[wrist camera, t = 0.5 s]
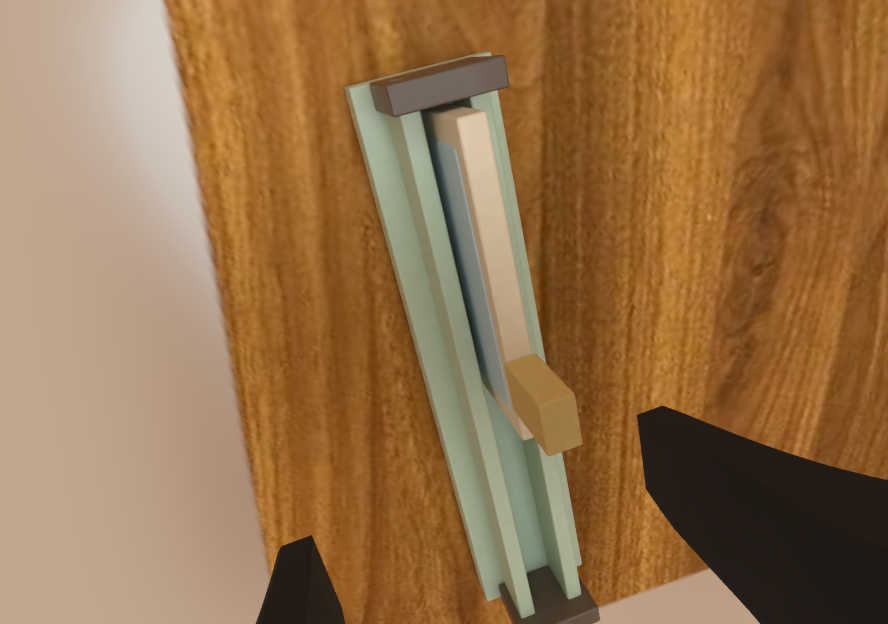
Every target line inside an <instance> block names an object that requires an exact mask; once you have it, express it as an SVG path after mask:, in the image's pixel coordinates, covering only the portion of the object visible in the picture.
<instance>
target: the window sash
mask: <svg viewBox="0 0 888 624" xmlns="http://www.w3.org/2000/svg"><path fill="white" fill-rule="evenodd" d="M420 112H421V116H422V121H423V125H424V129H425V134H426V138H427V143H428V147H429V151H430V156H431V160H432V164H433V169H434V173H435V177H436V182H437V186H438V191H439V195H440V199H441V204H442V208H443V212H444V217H445V221H446V225H447V230H448V234H449V239H450V243H451V247H452V252H453V256H454V260H455V265H456V269H457V273H458V278H459V282H460V287H461V291H462V295H463V300H464V304H465V308H466V313H467V317H468V321H469V326H470V330H471V335H472V339H473V343H474V348H475V352H476V356H477V361H478V365H479V369H480V374H481V378H482V382H483V384H484V385H485V387H486V388H487V390H488V391H489V392H490V394H491V395H492V397H493V398H494V400H495V401H496V402H497V404H498V405H499V407H500V408H501V410H502V411H503V413H504V414H505V415H506V417H507V418H508V420H509V421H510V423H511V424H512V426H513V427H514V428H515V430H516V431H517V433H518V434H519V436H520V437H521V438H522V440H528V439H531V438H533V437H534V438H535V439H536V441H537V442H538V444H539V445H540V446H541V448H542V449H543V450H544V452H545V453H546V454H547V456H553V455H556V454H558V453H561V452H564V451H566V450H569V449H572V448H575V447H577V446H580V445H582V437H581V431H580V424H579V418H578V412H577V406H576V399H575V394H574V393H573V392H572V391H571V390H570V389H569V387H568V386H567V385H566V384H565V383H564V382H563V381H562V380H561V379H560V378H559V377H558V376H557V375H556V374H555V373H554V372H553V371H552V370H551V369H550V368H549V367H548V365H547V364H546V363H545V362H544V361H543V360H542V359H541V358H540V357H539V356H538V355H537V354H532V351H531V346H530V341H529V335H528V330H527V325H526V319H525V314H524V309H523V303H522V298H521V293H520V287H519V282H518V277H517V271H516V266H515V261H514V255H513V250H512V245H511V239H510V234H509V229H508V223H507V218H506V213H505V207H504V202H503V197H502V191H501V186H500V181H499V175H498V170H497V165H496V159H495V154H494V149H493V143H492V138H491V133H490V127H489V122H488V117H487V113H486V111H483V110H477V109H472V108H467V107H462V106H457V105H451V104H444V105H440V106H436V107H432V108H429V109H425V110H421V111H420Z"/></svg>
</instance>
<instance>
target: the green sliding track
mask: <svg viewBox="0 0 888 624" xmlns="http://www.w3.org/2000/svg"><path fill="white" fill-rule="evenodd" d="M508 87H509V80H508V74H507V68H506V62H505V57H504V55H497V56H491V53H490V52H485V53H476V54H472V55H468V56H464V57H460V58H456V59H452V60H448V61H444V62H440V63H436V64H433V65H429V66H425V67H421V68H417V69H413V70H409V71H405V72H401V73H397V74H393V75H389V76H385V77H382V78H378V79H374V80H370V81H366V82H362V83H358V84H354V85H350V86H346V87H345V88H344V90H345V93H346V97H347V101H348V104H349V108H350V112H351V115H352V119H353V123H354V126H355V130H356V134H357V137H358V141H359V145H360V148H361V152H362V156H363V159H364V163H365V167H366V170H367V174H368V178H369V181H370V185H371V189H372V192H373V196H374V200H375V203H376V207H377V211H378V214H379V218H380V221H381V225H382V229H383V232H384V236H385V240H386V243H387V247H388V251H389V254H390V258H391V262H392V265H393V269H394V273H395V276H396V280H397V284H398V287H399V291H400V295H401V298H402V302H403V306H404V309H405V313H406V317H407V320H408V324H409V328H410V331H411V335H412V339H413V342H414V346H415V350H416V353H417V357H418V360H419V364H420V368H421V371H422V375H423V379H424V382H425V386H426V390H427V393H428V397H429V401H430V404H431V408H432V412H433V415H434V419H435V423H436V426H437V430H438V434H439V437H440V441H441V445H442V448H443V452H444V456H445V459H446V463H447V467H448V470H449V474H450V478H451V481H452V485H453V489H454V492H455V496H456V499H457V503H458V507H459V510H460V514H461V518H462V521H463V525H464V529H465V532H466V536H467V540H468V543H469V547H470V551H471V554H472V558H473V562H474V565H475V569H476V573H477V576H478V580H479V583H480V585H481V588H482V590H483V593H484V595H485V597H486V600H487V601H488V602H489V601H491V600H494V599H496V598H499V597H501V598H502V601H503V603H504V605H505V607H506V609H507V612H508V614H509V616H510V618H511V621H512V623H513V624H593V623H596V622H598V621H599V620H600V617H599V611H598V606H597V605H596V603H595V602H594V600H593V598H592V597H591V595H590V593H589V592H588V590H587V589H586V587H585V585H584V584H583V582H582V581H581V579H580V577H579V576H578V572H577V566H579V565H581V564H582V562H581V556H580V551H579V545H578V540H577V534H576V528H575V523H574V517H573V512H572V506H571V500H570V495H569V489H568V484H567V478H566V472H565V467H564V461H563V455H562V452H561V453H558V454H556V455H553V456H547V454H546V453H545V452H544V450H543V449H542V448H541V446H540V445H539V444H538V442H537V441H536V439H535V438H534V437H533V438H531V439H528V440H522V438H521V437H520V436H519V434H518V433H517V431H516V430H515V428H514V427H513V426H512V424H511V423H510V421H509V420H508V418H507V417H506V415H505V414H504V413H503V411H502V410H501V408H500V407H499V405H498V404H497V402H496V401H495V400H494V398H493V397H492V395H491V394H490V392H489V391H488V390H487V388H486V387H485V385H484V384H483V382H482V378H481V374H480V369H479V365H478V361H477V356H476V352H475V348H474V343H473V339H472V335H471V330H470V326H469V321H468V317H467V313H466V308H465V304H464V300H463V295H462V291H461V287H460V282H459V278H458V273H457V269H456V265H455V260H454V256H453V252H452V247H451V243H450V239H449V234H448V230H447V225H446V221H445V217H444V212H443V208H442V204H441V199H440V195H439V191H438V186H437V182H436V177H435V173H434V169H433V164H432V160H431V156H430V151H429V147H428V143H427V138H426V134H425V129H424V125H423V121H422V116H421V112H420V111H421V110H425V109H429V108H432V107H436V106H440V105H444V104H451V105H457V106H462V107H467V108H472V109H477V110H483V111H486V113H487V117H488V122H489V127H490V133H491V138H492V143H493V149H494V154H495V159H496V165H497V170H498V175H499V181H500V186H501V191H502V197H503V202H504V207H505V213H506V218H507V223H508V229H509V234H510V239H511V245H512V250H513V255H514V261H515V266H516V271H517V277H518V282H519V287H520V293H521V298H522V303H523V309H524V314H525V319H526V325H527V330H528V335H529V341H530V346H531V351H532V354H537V355H538V356H539V357H540V358H541V359H542V360H543V361H544V362H545V363H546V360H545V354H544V349H543V343H542V338H541V332H540V326H539V321H538V315H537V310H536V304H535V298H534V293H533V287H532V281H531V276H530V270H529V265H528V259H527V253H526V248H525V242H524V237H523V231H522V225H521V220H520V214H519V209H518V203H517V197H516V192H515V186H514V180H513V175H512V169H511V164H510V158H509V152H508V147H507V141H506V136H505V130H504V124H503V119H502V113H501V107H500V102H499V96H498V91H497V90H500V89H504V88H508Z"/></svg>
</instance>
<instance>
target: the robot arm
mask: <svg viewBox="0 0 888 624" xmlns="http://www.w3.org/2000/svg"><path fill="white" fill-rule="evenodd" d="M637 418H638V426H639V435H640V443H641V451H642V459H643V468H644V476H645V484H646V490H647V491H648V492H649V494H650V495H651V497H652V498H653V500H654V501H655V503H656V504H657V506H658V507H659V508H660V510H661V511H662V513H663V514H664V515H665V517H666V518H667V520H668V521H669V522H670V524H671V525H672V526H673V528H674V529H675V530H676V531H677V532H678V533H679V535H680V536H681V537H682V538H683V539H684V540H685V541H686V542H687V543H688V545H689V546H690V547H691V548H692V549H693V550H694V551H695V552H696V553H697V554H698V556H699V557H700V558H701V559H702V560H703V561H704V562H705V563H706V564H707V565H708V566H709V568H710V569H711V570H712V571H713V572H714V573H715V574H716V575H717V576H718V577H719V578H720V579H721V580H722V582H723V583H724V584H725V585H726V586H727V587H728V588H729V589H730V590H731V591H732V592H733V594H734V595H736V597H737V598H738V599H739V600H740V601H741V602H742V603H743V604H744V605H745V607H746V608H747V609H748V610H749V611H750V612H751V613H752V615H753V616H754V617H755V618H756V619H757V620H758V622H759V623H760V624H888V480H884V479H880V478H875V477H871V476H867V475H863V474H859V473H855V472H851V471H847V470H843V469H839V468H835V467H831V466H828V465H825V464H821V463H818V462H814V461H811V460H808V459H805V458H802V457H799V456H795V455H792V454H789V453H786V452H783V451H780V450H777V449H774V448H772V447H769V446H766V445H763V444H760V443H758V442H755V441H752V440H749V439H747V438H744V437H742V436H739V435H736V434H734V433H731V432H729V431H726V430H723V429H721V428H718V427H716V426H713V425H711V424H708V423H706V422H703V421H701V420H699V419H696V418H694V417H691V416H689V415H686V414H684V413H681V412H678V411H676V410H673V409H670V408H668V407H665V406H660V407H657V408H655V409H652V410H649V411H647V412H644V413H641V414H638V415H637ZM256 624H345V621H344V616H343V611H342V607H341V604H340V602H339V600H338V597H337V595H336V592H335V590H334V588H333V585H332V583H331V580H330V578H329V576H328V573H327V571H326V568H325V566H324V564H323V561H322V559H321V556H320V554H319V552H318V549H317V547H316V544H315V542H314V540H313V537H312V535H311V536H308V537H305V538H303V539H300V540H297V541H295V542H292V543H289V544H287V545H284V546H282V547H281V548H280V550H279V552H278V555H277V558H276V562H275V566H274V569H273V573H272V576H271V580H270V583H269V586H268V589H267V592H266V596H265V599H264V602H263V605H262V608H261V611H260V613H259V616H258V619H257V622H256Z"/></svg>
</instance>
